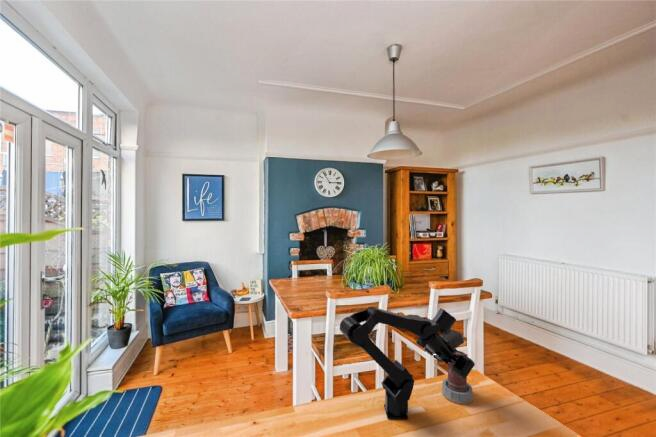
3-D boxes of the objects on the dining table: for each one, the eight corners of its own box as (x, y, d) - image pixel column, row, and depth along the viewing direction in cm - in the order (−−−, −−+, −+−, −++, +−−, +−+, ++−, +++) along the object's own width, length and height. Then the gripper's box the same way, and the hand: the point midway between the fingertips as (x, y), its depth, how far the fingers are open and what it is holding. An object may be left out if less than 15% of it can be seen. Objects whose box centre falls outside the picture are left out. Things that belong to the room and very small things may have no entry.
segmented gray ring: (448, 404, 101) (448, 394, 101) (437, 386, 111) (438, 377, 111) (478, 404, 101) (478, 394, 101) (464, 386, 111) (464, 377, 111)
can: (470, 397, 103) (471, 357, 103) (453, 398, 103) (454, 357, 102) (460, 387, 109) (462, 349, 109) (444, 387, 109) (445, 349, 109)
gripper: (471, 336, 95) (495, 364, 99) (431, 315, 113) (453, 340, 117) (451, 364, 93) (476, 391, 97) (413, 339, 110) (437, 363, 115)
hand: (460, 369), depth 106 cm, fingers closed on can, 5 cm apart
